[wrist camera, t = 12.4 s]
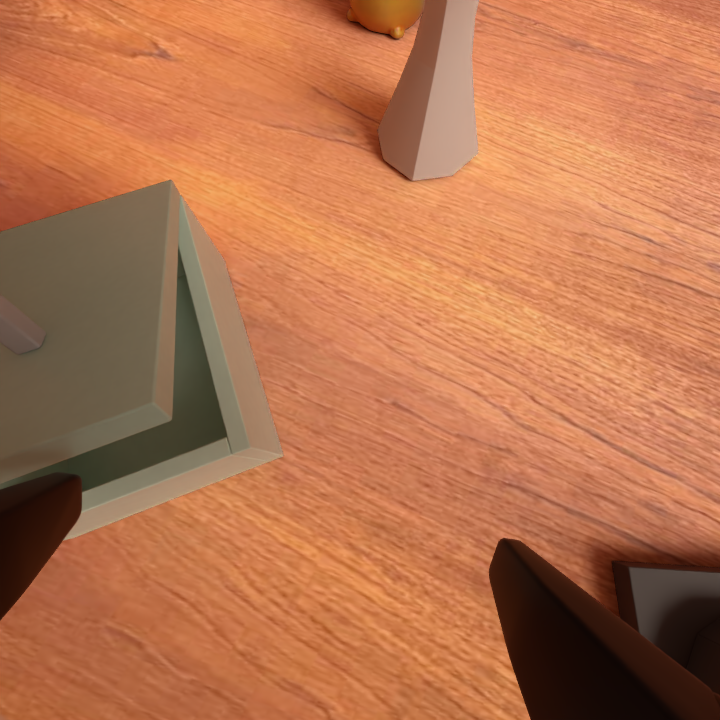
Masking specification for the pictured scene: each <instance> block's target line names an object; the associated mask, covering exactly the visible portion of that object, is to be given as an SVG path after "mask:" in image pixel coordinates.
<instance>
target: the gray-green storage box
mask: <svg viewBox="0 0 720 720" xmlns="http://www.w3.org/2000/svg"><path fill="white" fill-rule="evenodd" d="M283 456H284V455H283V451H282V448H281V445H280V441H279V438H278V435H277V431H276V428H275V425H274V422H273V418H272V415H271V412H270V408H269V405H268V402H267V398H266V395H265V392H264V389H263V385H262V382H261V379H260V375H259V372H258V369H257V365H256V362H255V359H254V356H253V352H252V349H251V346H250V342H249V339H248V336H247V332H246V329H245V326H244V323H243V319H242V316H241V313H240V309H239V306H238V303H237V299H236V296H235V293H234V290H233V286H232V283H231V280H230V276H229V273H228V270H227V267H226V263H225V260H224V258H223V257H222V255H221V254H220V252H219V251H218V249H217V248H216V246H215V245H214V243H213V242H212V240H211V239H210V237H209V236H208V234H207V233H206V231H205V230H204V228H203V227H202V225H201V224H200V222H199V221H198V219H197V218H196V216H195V215H194V213H193V212H192V210H191V209H190V207H189V206H188V204H187V203H186V201H185V200H184V198H183V197H182V196H181V195H180V208H179V237H178V266H177V295H176V324H175V353H174V381H173V410H172V420H171V421H169V422H166V423H163V424H161V425H158V426H155V427H153V428H150V429H147V430H144V431H142V432H139V433H136V434H134V435H131V436H128V437H125V438H123V439H120V440H117V441H115V442H112V443H109V444H106V445H104V446H101V447H98V448H96V449H93V450H90V451H87V452H85V453H82V454H79V455H77V456H74V457H71V458H69V459H66V460H63V461H60V462H58V463H55V464H52V465H50V466H47V467H44V468H41V469H39V470H36V471H33V472H31V473H28V474H25V475H22V476H20V477H17V478H14V479H12V480H9V481H6V482H3V483H1V484H0V489H3V488H6V487H9V486H13V485H16V484H19V483H22V482H26V481H29V480H32V479H35V478H38V477H42V476H45V475H48V474H51V473H55V472H65V473H71V474H77V475H79V476H80V477H81V479H82V511H81V514H80V517H79V519H78V521H77V522H76V524H75V525H74V526H73V528H72V529H71V530H70V532H69V533H68V534H67V536H66V537H65V538H64V540H67V539H72V538H75V537H77V536H80V535H83V534H85V533H88V532H90V531H93V530H95V529H98V528H101V527H103V526H106V525H108V524H111V523H113V522H116V521H118V520H121V519H124V518H126V517H129V516H131V515H134V514H136V513H139V512H142V511H144V510H147V509H149V508H152V507H154V506H157V505H160V504H162V503H165V502H167V501H170V500H172V499H175V498H178V497H180V496H183V495H185V494H188V493H190V492H193V491H195V490H198V489H201V488H203V487H206V486H208V485H211V484H213V483H216V482H219V481H221V480H224V479H226V478H229V477H231V476H234V475H237V474H239V473H242V472H244V471H247V470H249V469H252V468H254V467H257V466H260V465H262V464H265V463H267V462H270V461H272V460H275V459H278V458H280V457H283Z"/></svg>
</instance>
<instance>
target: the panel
mask: <svg viewBox="0 0 720 720" xmlns="http://www.w3.org/2000/svg"><path fill="white" fill-rule="evenodd" d="M612 565H613V572H614V579H615V585H616V592H617V599H618V605H619V612H620V619H622V620H623V621H624V622H626V623H627V624H628V625H629V626H631V627H632V628H633V629H635V630H636V631H637V632H638V633H640V634H641V635H642V636H644V637H645V638H646V639H647V640H649V641H650V642H651V643H653V644H654V645H655V646H656V647H658V648H659V649H660V650H662V651H663V652H664V653H666V654H667V655H668V656H669V657H671V658H672V659H673V660H675V661H676V662H677V663H678V664H680V665H681V666H682V667H684V668H685V669H686V670H687V671H689V672H690V673H691V674H693V675H694V676H695V677H696V678H698V679H699V680H700V681H702V682H703V683H704V684H705V685H707V686H708V687H709V688H710V689H711V691H712V693H717V694H719V695H720V568H719V567H703V566H687V565H671V564H656V563H640V562H624V561H612Z"/></svg>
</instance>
